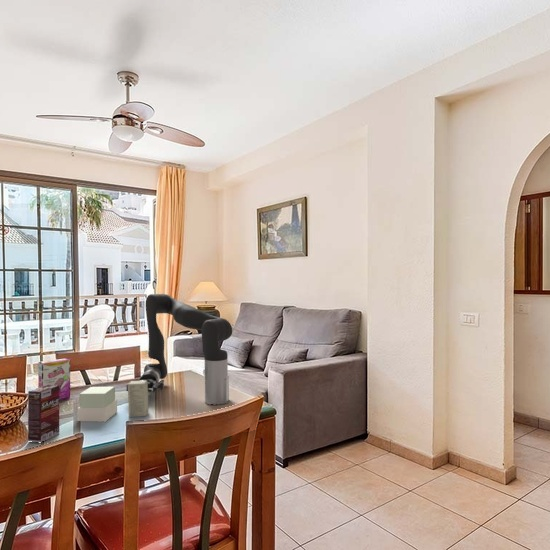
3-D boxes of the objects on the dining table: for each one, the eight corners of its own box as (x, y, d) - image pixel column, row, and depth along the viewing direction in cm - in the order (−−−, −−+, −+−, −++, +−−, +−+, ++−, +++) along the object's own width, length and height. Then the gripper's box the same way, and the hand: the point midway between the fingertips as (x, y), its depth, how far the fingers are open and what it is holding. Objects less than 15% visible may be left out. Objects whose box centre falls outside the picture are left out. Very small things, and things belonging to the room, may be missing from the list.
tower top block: (115, 399, 157) (114, 386, 157) (105, 407, 148) (104, 393, 148) (91, 400, 157) (90, 386, 157) (79, 407, 148) (79, 393, 148)
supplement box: (41, 444, 129) (40, 392, 128) (27, 442, 130) (26, 391, 129) (60, 433, 137) (60, 384, 137) (47, 432, 138) (47, 384, 138)
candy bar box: (42, 404, 168) (41, 363, 168) (38, 401, 172) (37, 361, 172) (71, 398, 176) (70, 359, 176) (66, 395, 180) (66, 357, 180)
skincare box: (148, 412, 157) (148, 380, 157) (145, 416, 152) (144, 383, 152) (131, 413, 156) (131, 380, 156) (127, 417, 152) (127, 383, 152)
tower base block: (117, 412, 158) (117, 399, 158) (105, 422, 148) (105, 408, 148) (91, 412, 158) (90, 399, 158) (77, 422, 148) (77, 408, 148)
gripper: (132, 371, 178) (123, 381, 162) (166, 370, 180) (161, 379, 164) (132, 389, 178) (123, 401, 162) (166, 388, 180) (161, 399, 164)
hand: (142, 390), depth 163 cm, fingers open, 8 cm apart
